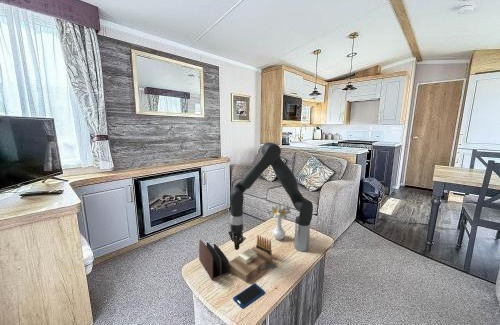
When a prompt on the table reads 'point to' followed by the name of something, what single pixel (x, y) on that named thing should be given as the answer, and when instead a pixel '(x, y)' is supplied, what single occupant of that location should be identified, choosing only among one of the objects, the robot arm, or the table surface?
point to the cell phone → (248, 295)
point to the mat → (270, 266)
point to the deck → (250, 265)
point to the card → (247, 256)
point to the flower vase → (278, 219)
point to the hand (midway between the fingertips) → (236, 249)
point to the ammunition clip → (264, 245)
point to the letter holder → (213, 260)
